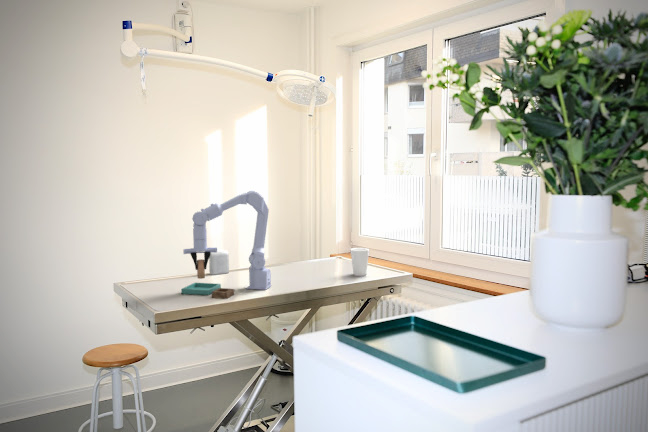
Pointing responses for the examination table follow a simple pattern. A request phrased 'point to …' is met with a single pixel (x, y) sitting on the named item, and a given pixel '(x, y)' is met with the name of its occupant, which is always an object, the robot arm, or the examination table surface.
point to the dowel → (200, 269)
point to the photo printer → (219, 262)
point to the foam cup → (359, 260)
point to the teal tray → (200, 288)
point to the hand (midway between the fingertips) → (200, 269)
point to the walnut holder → (222, 293)
